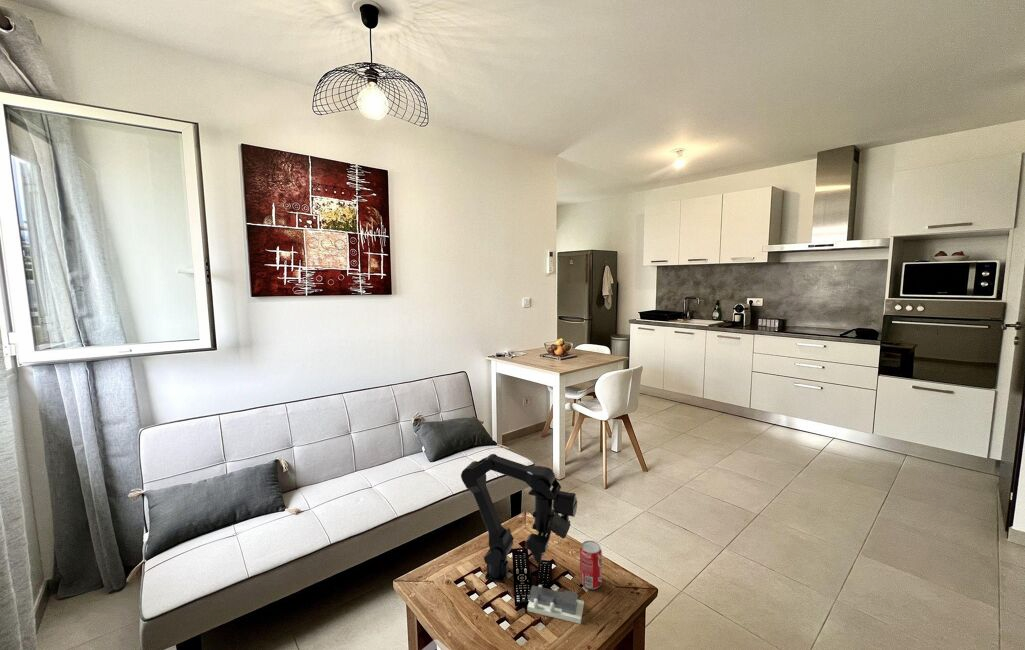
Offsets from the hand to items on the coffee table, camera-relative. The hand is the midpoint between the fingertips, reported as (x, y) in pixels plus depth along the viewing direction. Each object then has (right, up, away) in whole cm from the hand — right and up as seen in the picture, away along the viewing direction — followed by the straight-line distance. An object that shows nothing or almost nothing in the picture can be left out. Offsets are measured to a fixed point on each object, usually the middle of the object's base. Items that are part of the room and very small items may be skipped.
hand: (542, 553), depth 132 cm
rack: (+4, -13, -7) cm, 15 cm away
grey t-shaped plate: (+4, -11, -7) cm, 14 cm away
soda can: (+16, -11, +3) cm, 20 cm away
